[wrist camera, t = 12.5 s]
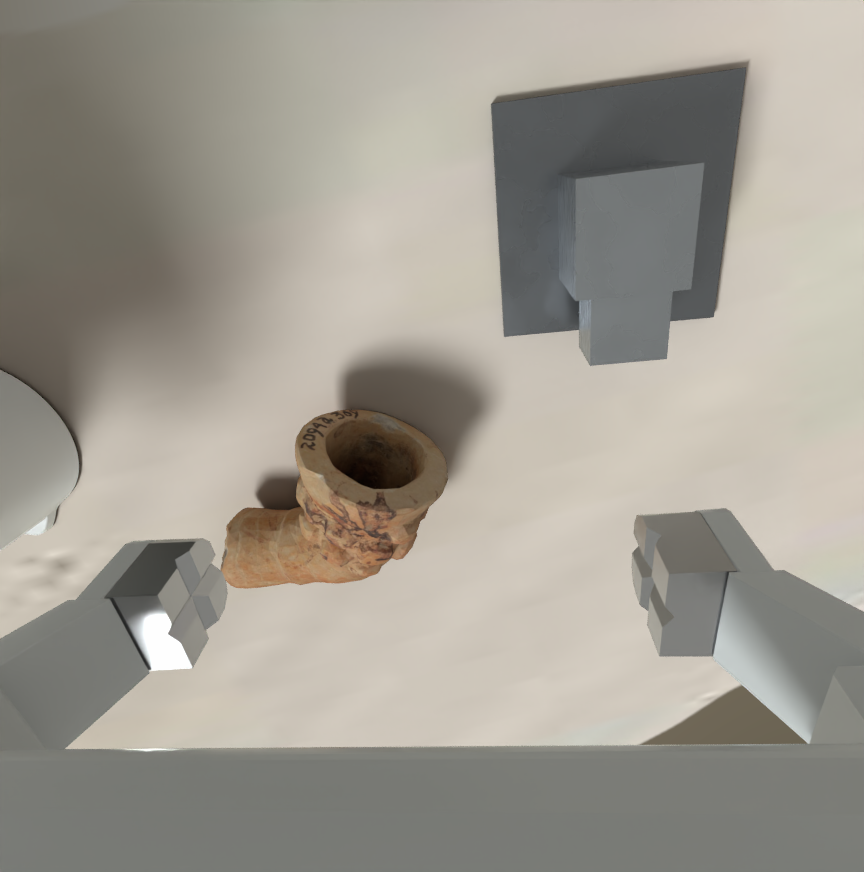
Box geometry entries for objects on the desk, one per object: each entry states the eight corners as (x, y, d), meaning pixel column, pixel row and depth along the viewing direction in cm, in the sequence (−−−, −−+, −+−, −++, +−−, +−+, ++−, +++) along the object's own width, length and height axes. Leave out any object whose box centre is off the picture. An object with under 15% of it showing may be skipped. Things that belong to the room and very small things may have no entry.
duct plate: (503, 334, 38) (507, 352, 34) (491, 104, 31) (493, 98, 28) (710, 314, 36) (735, 332, 33) (741, 69, 30) (777, 57, 26)
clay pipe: (458, 498, 49) (438, 373, 39) (463, 606, 42) (441, 488, 31) (263, 515, 51) (192, 399, 40) (235, 621, 43) (139, 514, 33)
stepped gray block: (558, 174, 32) (575, 179, 27) (664, 160, 32) (704, 162, 26) (559, 336, 37) (575, 368, 32) (651, 327, 36) (684, 358, 31)
